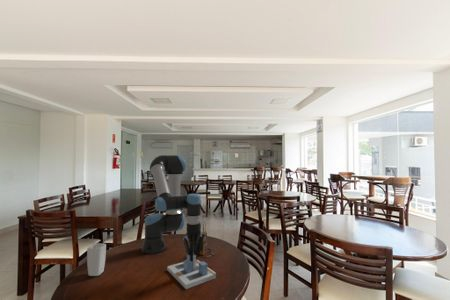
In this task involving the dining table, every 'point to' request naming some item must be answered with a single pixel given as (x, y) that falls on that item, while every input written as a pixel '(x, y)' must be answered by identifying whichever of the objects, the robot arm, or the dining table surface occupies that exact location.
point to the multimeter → (204, 243)
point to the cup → (96, 259)
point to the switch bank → (190, 275)
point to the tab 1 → (187, 266)
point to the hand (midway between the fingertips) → (193, 266)
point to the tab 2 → (203, 268)
